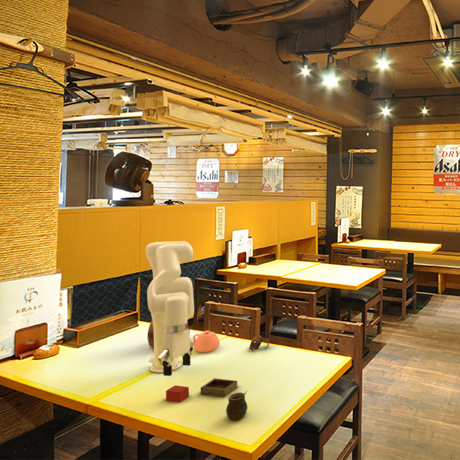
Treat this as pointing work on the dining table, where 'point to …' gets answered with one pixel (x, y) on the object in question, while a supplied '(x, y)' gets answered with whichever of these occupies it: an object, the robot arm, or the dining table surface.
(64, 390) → the dining table surface
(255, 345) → the pottery mug
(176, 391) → the red block
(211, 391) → the brown shallow rectangular box
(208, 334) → the sugar bowl
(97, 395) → the dining table surface
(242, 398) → the mate gourd
